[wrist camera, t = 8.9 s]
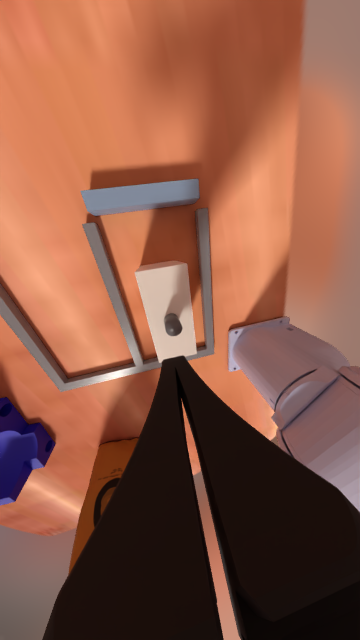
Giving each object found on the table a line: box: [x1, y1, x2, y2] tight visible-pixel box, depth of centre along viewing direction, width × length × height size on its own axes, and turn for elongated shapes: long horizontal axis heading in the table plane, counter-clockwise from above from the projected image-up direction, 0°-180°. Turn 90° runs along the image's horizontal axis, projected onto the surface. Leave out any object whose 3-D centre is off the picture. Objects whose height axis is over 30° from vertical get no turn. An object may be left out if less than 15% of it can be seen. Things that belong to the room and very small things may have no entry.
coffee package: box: [69, 438, 138, 574], centre depth 19 cm, size 10×12×22 cm
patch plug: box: [135, 260, 197, 363], centre depth 13 cm, size 4×8×8 cm, turn 8°
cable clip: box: [0, 397, 55, 505], centre depth 18 cm, size 12×4×6 cm, turn 0°
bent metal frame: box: [0, 208, 214, 392], centre depth 16 cm, size 21×17×1 cm
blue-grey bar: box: [81, 179, 200, 216], centre depth 12 cm, size 9×1×2 cm, turn 98°
